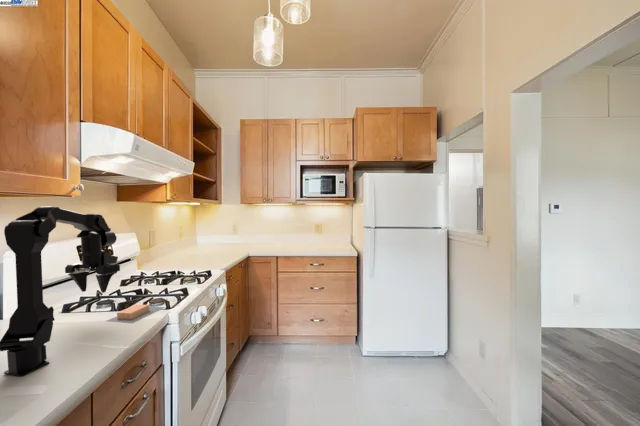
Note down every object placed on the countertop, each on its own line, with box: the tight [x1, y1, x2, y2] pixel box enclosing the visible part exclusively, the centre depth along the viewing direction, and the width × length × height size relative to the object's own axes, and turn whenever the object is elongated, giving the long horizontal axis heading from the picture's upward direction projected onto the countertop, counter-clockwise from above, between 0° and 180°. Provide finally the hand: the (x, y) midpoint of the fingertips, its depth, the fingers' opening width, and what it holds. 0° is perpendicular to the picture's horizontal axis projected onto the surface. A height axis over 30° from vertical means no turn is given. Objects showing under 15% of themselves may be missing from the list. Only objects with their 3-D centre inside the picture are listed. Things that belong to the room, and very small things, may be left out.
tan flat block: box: [116, 303, 150, 320], centre depth 113 cm, size 2×6×9 cm
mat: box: [106, 305, 166, 324], centre depth 114 cm, size 16×12×1 cm
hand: (93, 291), depth 105 cm, fingers open, 9 cm apart
